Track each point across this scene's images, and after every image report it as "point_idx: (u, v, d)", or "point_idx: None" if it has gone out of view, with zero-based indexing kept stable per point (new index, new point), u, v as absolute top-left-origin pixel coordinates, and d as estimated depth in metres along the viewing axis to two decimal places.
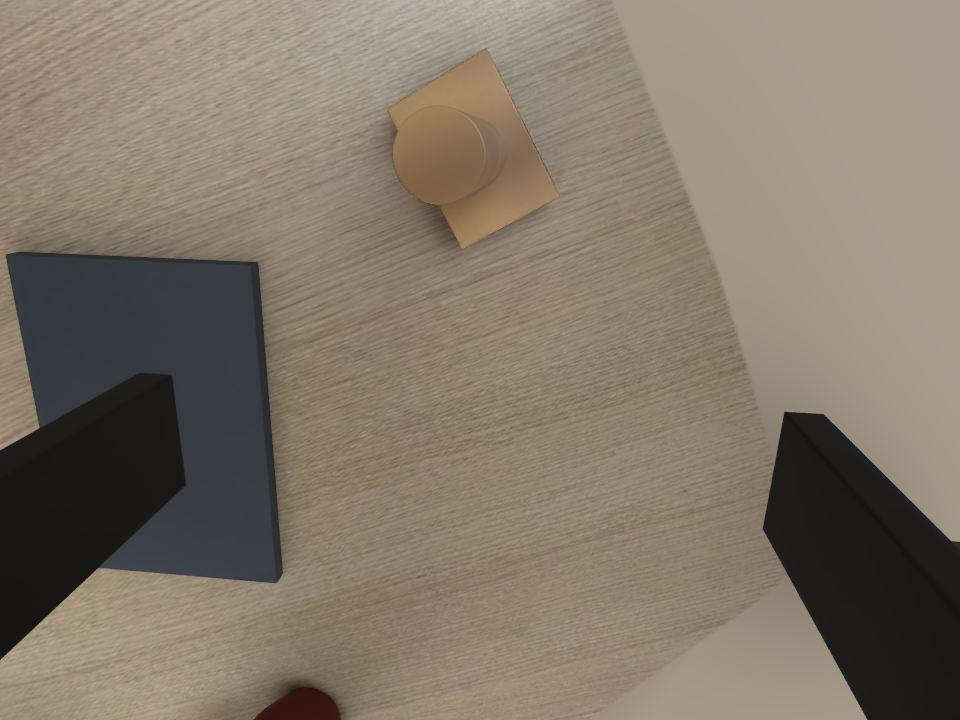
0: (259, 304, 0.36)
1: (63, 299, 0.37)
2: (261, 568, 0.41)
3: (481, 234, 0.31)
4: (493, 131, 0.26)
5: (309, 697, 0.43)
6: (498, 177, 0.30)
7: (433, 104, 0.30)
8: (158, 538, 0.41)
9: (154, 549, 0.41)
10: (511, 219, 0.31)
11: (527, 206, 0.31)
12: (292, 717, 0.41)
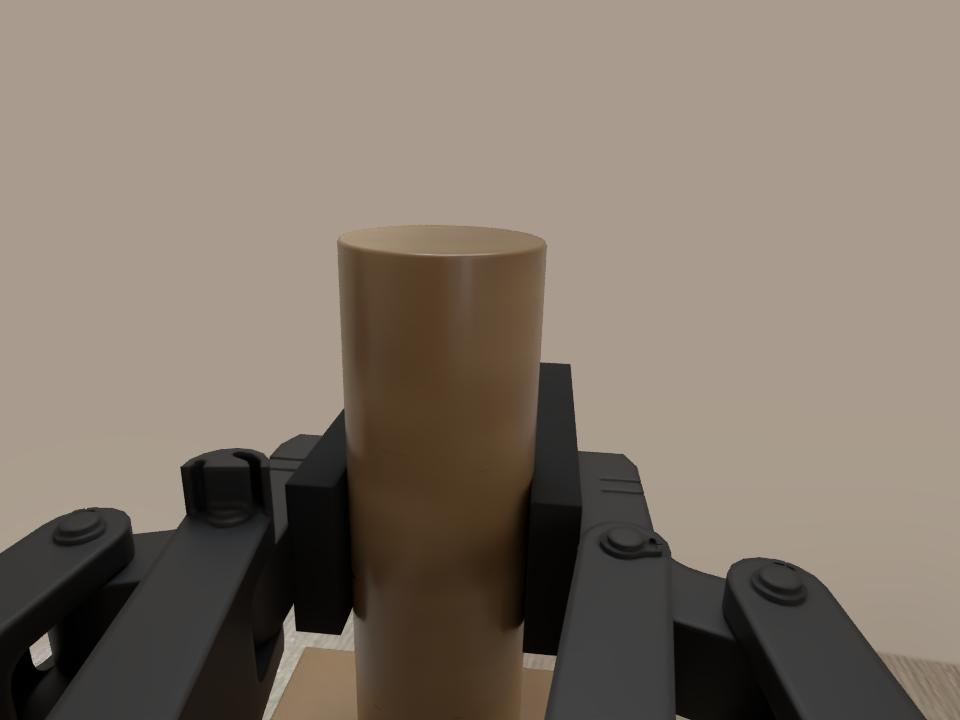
0: None
1: None
2: None
3: None
4: None
5: None
6: None
7: None
8: None
9: None
10: None
11: None
12: None
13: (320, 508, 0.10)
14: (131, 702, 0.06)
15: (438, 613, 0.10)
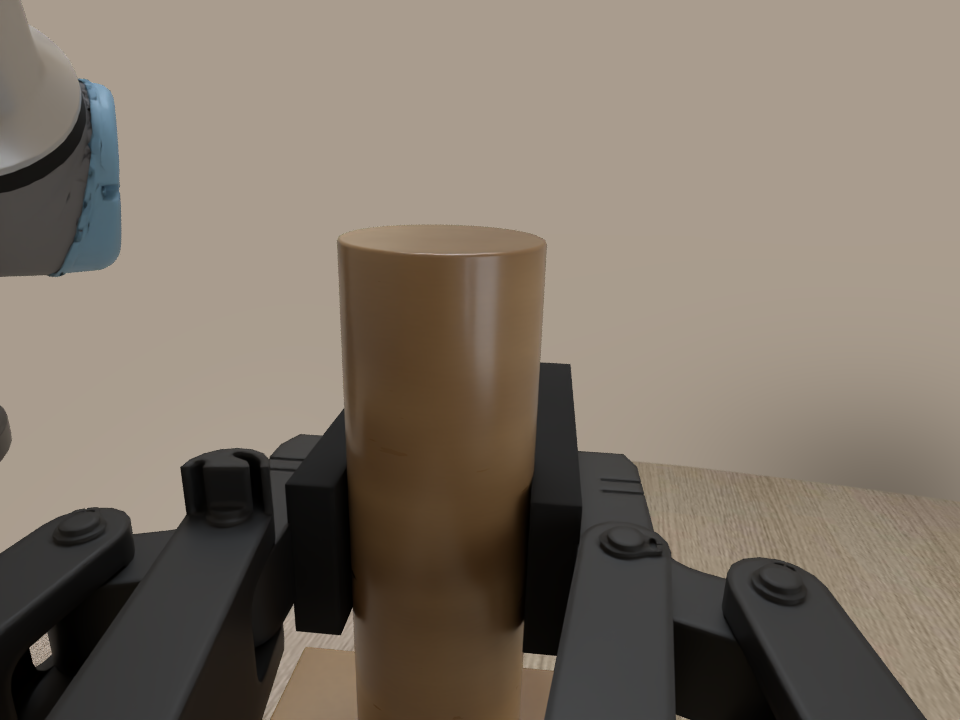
0: None
1: None
2: None
3: None
4: None
5: None
6: None
7: None
8: None
9: None
10: None
11: None
12: None
13: (320, 508, 0.10)
14: (131, 702, 0.06)
15: (438, 612, 0.10)
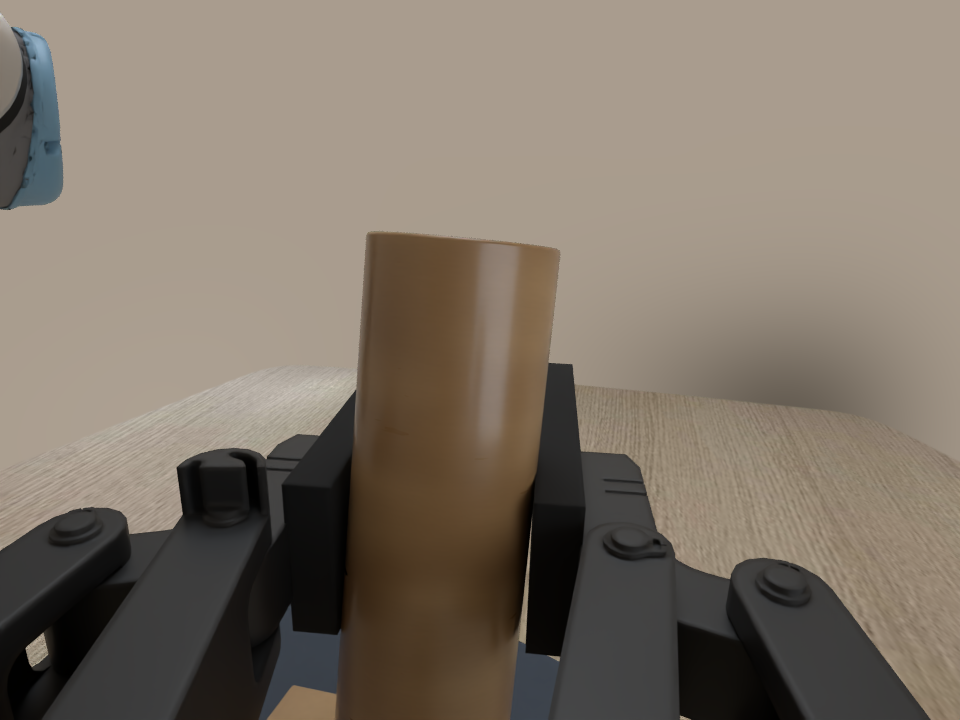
0: None
1: None
2: None
3: None
4: None
5: None
6: None
7: None
8: None
9: None
10: None
11: None
12: None
13: (317, 508, 0.10)
14: (127, 702, 0.06)
15: (424, 609, 0.10)
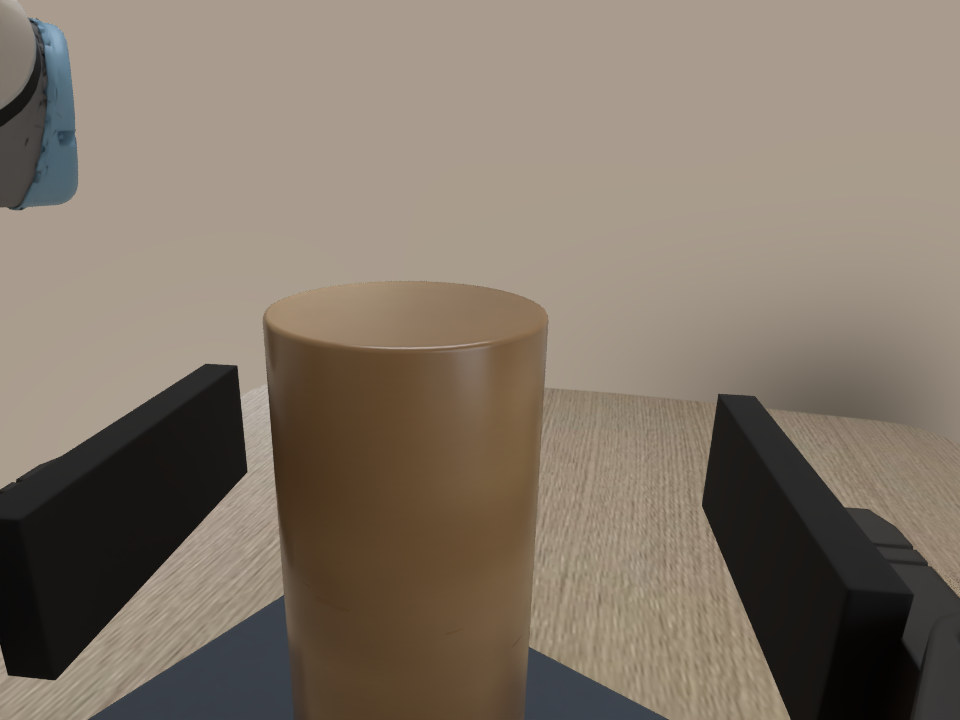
0: None
1: None
2: None
3: None
4: None
5: None
6: None
7: None
8: None
9: None
10: None
11: None
12: None
13: (10, 542, 0.09)
14: None
15: None
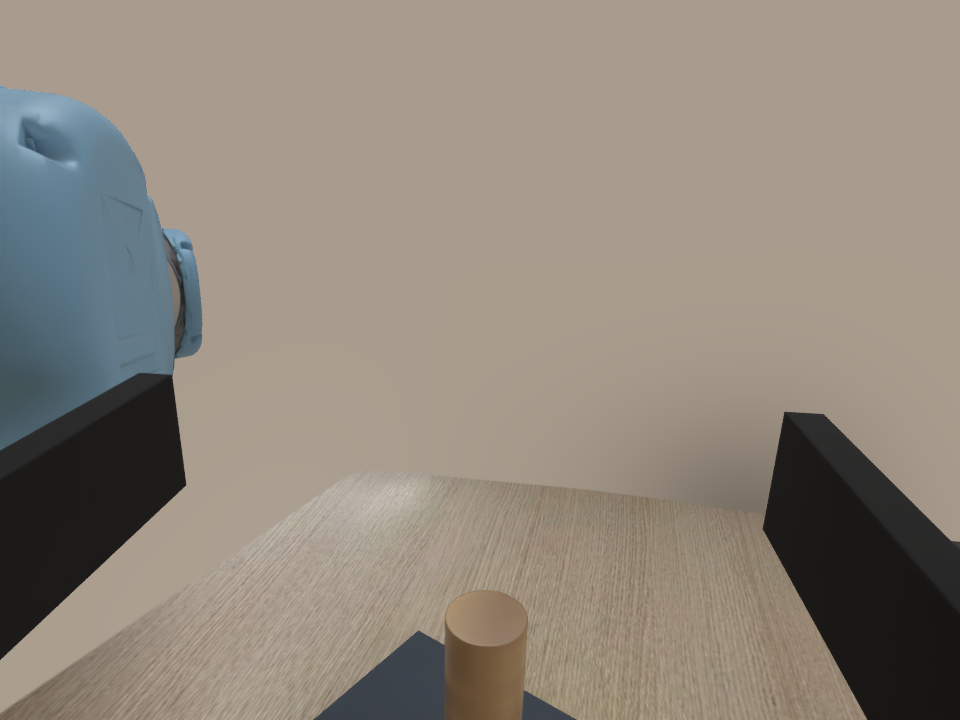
0: None
1: None
2: None
3: None
4: None
5: None
6: None
7: None
8: None
9: None
10: None
11: None
12: None
13: None
14: None
15: None
